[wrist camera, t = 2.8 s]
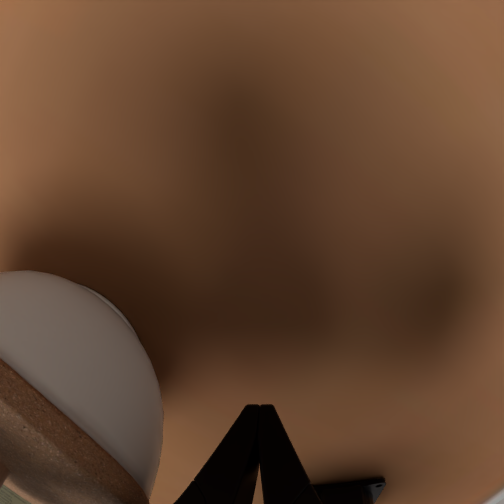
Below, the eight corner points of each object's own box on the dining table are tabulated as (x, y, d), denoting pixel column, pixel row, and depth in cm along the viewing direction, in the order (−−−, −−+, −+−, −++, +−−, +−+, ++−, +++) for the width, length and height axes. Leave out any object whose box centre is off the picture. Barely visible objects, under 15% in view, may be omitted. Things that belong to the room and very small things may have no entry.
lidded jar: (206, 426, 15) (170, 587, 6) (46, 394, 16) (-21, 499, 7) (175, 227, 11) (-14, 455, 2) (-14, 234, 12) (-148, 323, 3)
